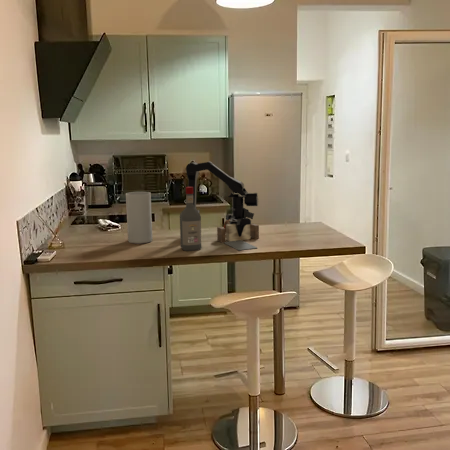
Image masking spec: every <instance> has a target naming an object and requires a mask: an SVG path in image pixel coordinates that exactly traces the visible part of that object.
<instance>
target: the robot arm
mask: <svg viewBox="0 0 450 450" xmlns="http://www.w3.org/2000/svg"><path fill="white" fill-rule="evenodd" d="M185 171H186V177H187V182H188V185H187V187H193V205H194V208H195V209H196V210H197V211H198V213H199V214H200V210H201V209H197V189H198V188H197V186H198V185H197V184H198V183H197V182H198V181H197V180H198V178H199V174H200V172H201V171H209V173H211V174H212V175H214V176H216V177H217V178H218V179H219V180H221V181H222V182H223V183H225V185H226V186H227V187H228V188H229V190H230V191H232V192H231V193H230V194H229V195H227V196H228V198H231V200H232V204H231V205H232V207H230V210H232V213H227V214H226V215H225V221H226V220H229V219H230V221H229V223H230V224H235V225H236V229H237V232H238V235H239V237H240V236H241V235H242V232H243V229H244V226H246V225H249V224H252V220H253V218H254V215H255V213H253V212H251V211H250V210H249V209H248V208H246V207H258V206H259V197H258V196H259V195H258V192H253V193H252V192H248V190H247V189H246V188H245V184H244V183H243V182H242V181H241V180H239V179H237V178H235V177H232V176H230V174H227V173H226V172H225V171H223V170H222V169H220V168H219V167H218V166H217V165H215V164H214V163H213V162H212V161H205V162H199V163H198V162H195V161H192V162H189V163H188V164H187V165H186V167H185ZM244 205H246V207H245V206H244Z"/></svg>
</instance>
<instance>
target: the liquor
mask: <svg viewBox="0 0 450 450" xmlns="http://www.w3.org/2000/svg"><path fill="white" fill-rule="evenodd" d="M185 195H186V197H185V198H186V199H185V203H186V204H185V208H184V209H183V210H182V211H181V212H180V214H179V232H180V233H179V234H180V236H179V237H180V238H179V239H180V241H179V242H180V248H181V249H182V250H183V251H186V252H193V251H199V250H201V249H202V216H201V214H200V212H199V213H198V211H197V210H198V209H197V210H196V209H195V208H194V205H193V187H188V186H186V187H185Z"/></svg>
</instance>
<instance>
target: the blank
mask: <svg viewBox="0 0 450 450" xmlns="http://www.w3.org/2000/svg"><path fill="white" fill-rule="evenodd" d="M225 235H226V242H230V241H239V240H242V241H244V240H245V241H246V240H251V237H250V224H249V225H246V226H244V229H243V232H242V235H241V236H240V237H239V235H238V232H237V229H236V225H235V224H228V225H226V234H225Z"/></svg>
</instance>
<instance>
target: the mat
mask: <svg viewBox="0 0 450 450" xmlns="http://www.w3.org/2000/svg"><path fill="white" fill-rule="evenodd" d="M223 244H225V245H226V246H229V247H230V248H233V249H234V250H236V251H238V252H239V251H249V250H255V249H258V247H257V246H255V245H253V244H251V243H249V242H247V241H244V240H237V241H226V242H223Z"/></svg>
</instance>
